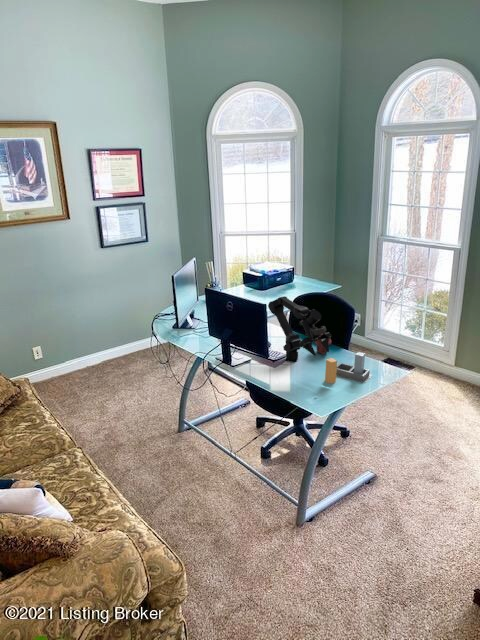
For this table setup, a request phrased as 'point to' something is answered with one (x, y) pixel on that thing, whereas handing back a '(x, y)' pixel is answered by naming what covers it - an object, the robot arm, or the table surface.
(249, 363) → the table surface
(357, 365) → the grey rectangular block
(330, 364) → the yellow upright block
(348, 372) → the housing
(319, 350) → the mechanical component
